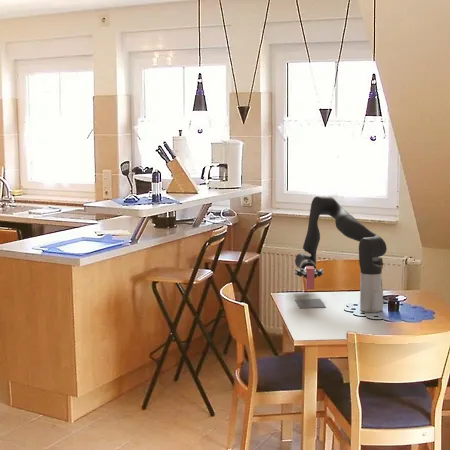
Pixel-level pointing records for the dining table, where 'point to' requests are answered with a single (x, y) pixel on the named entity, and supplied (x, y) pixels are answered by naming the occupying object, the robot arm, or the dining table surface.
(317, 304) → the mat
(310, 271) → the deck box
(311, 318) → the dining table surface
